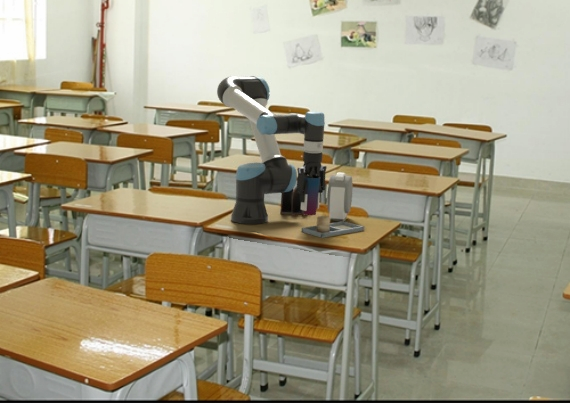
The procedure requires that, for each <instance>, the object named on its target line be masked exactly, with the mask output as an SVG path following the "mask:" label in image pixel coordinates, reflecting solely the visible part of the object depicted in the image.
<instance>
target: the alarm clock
mask: <svg viewBox="0 0 570 404" xmlns="http://www.w3.org/2000/svg"><path fill="white" fill-rule="evenodd" d="M327 185H328V186H327V193H326V194H327V195H326V196H327V197H326V198H327V199H326V201H327V202H326V205H327V206H326V207H327V211H328V212H329V214H328V215H329V216H328V217H330V221H335V222H341V221H345V222H346V220H347V219H346V218H347V215H348V214H349V213H350V212H351V208H352V201H353V188H354V187H353V177H352V176H351V175H347V173H346V172H339V171H338V172H337V173H336V174H331V175H330V176H329V180H328V184H327Z"/></svg>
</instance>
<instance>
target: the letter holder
mask: <svg viewBox="0 0 570 404" xmlns="http://www.w3.org/2000/svg"><path fill="white" fill-rule="evenodd" d="M296 189H297V186H295V187H294V188H293V189H292V190H291V191H289V192H284V193H280V194H281V196H280V197H281V199H280V215H285V216H286V215H288V216H298V215H303V216H305V214H303V210H301V202H300V193H298V192H296Z"/></svg>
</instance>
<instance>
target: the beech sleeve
mask: <svg viewBox="0 0 570 404" xmlns="http://www.w3.org/2000/svg"><path fill="white" fill-rule="evenodd" d="M330 223H331V218H330V217H329V216H326V215H325V216H324V215H322V216H321V215H320V216H319V215H318V216H316V226H317V229H316V231H317V232H320V233H326V232H330Z"/></svg>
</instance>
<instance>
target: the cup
mask: <svg viewBox="0 0 570 404" xmlns="http://www.w3.org/2000/svg"><path fill="white" fill-rule="evenodd" d="M307 179H308V188H307V191H306V194H307V211H304V210H303V214H304V216H316V214H317V210H318V209H317V200H318V192H319V184H320V177H319V178H313V176H312V177H311V178H305V177H304V180H307Z"/></svg>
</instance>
